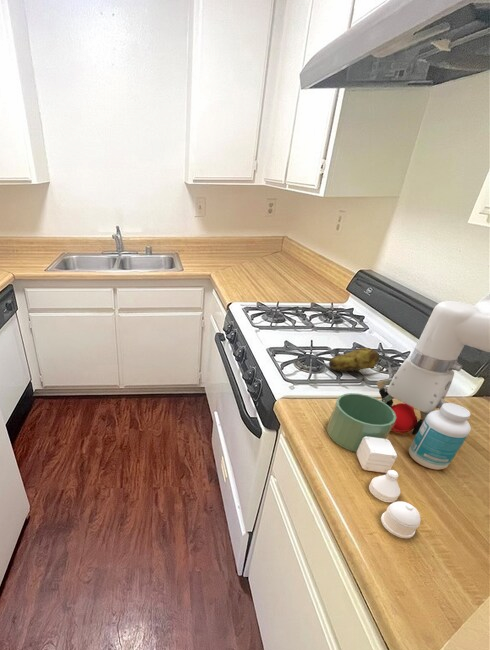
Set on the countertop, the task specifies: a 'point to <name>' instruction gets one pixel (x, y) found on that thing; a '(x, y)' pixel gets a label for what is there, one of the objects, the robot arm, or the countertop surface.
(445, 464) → the pill bottle
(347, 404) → the cup
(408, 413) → the cap
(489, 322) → the robot arm
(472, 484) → the countertop surface
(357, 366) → the potato
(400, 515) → the container set
